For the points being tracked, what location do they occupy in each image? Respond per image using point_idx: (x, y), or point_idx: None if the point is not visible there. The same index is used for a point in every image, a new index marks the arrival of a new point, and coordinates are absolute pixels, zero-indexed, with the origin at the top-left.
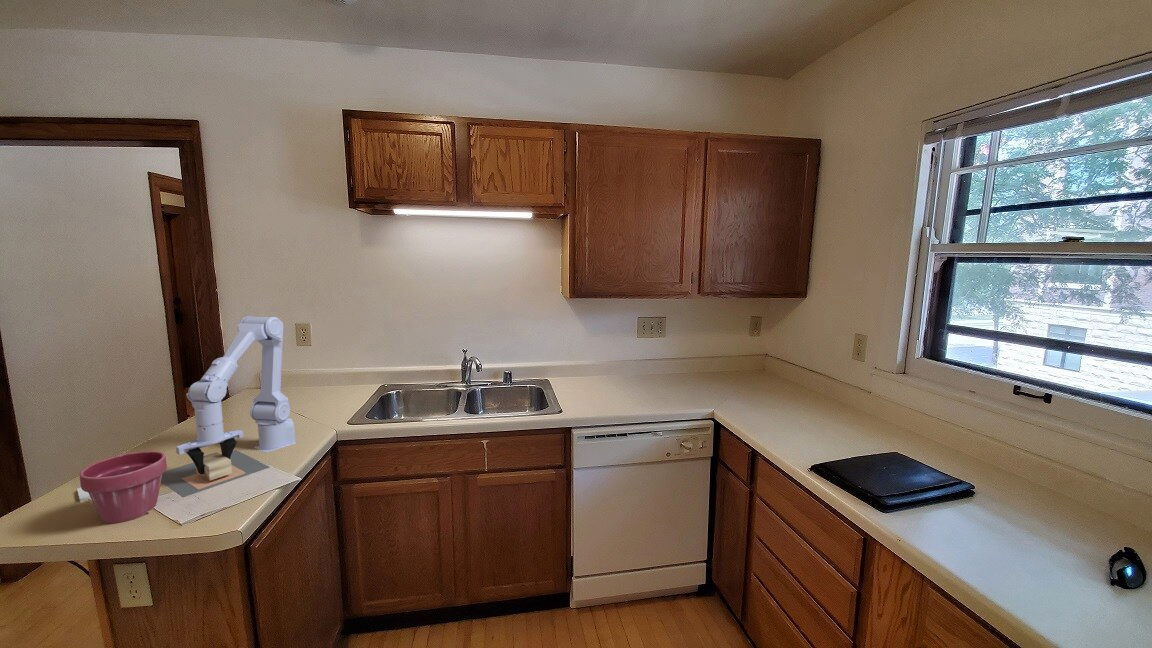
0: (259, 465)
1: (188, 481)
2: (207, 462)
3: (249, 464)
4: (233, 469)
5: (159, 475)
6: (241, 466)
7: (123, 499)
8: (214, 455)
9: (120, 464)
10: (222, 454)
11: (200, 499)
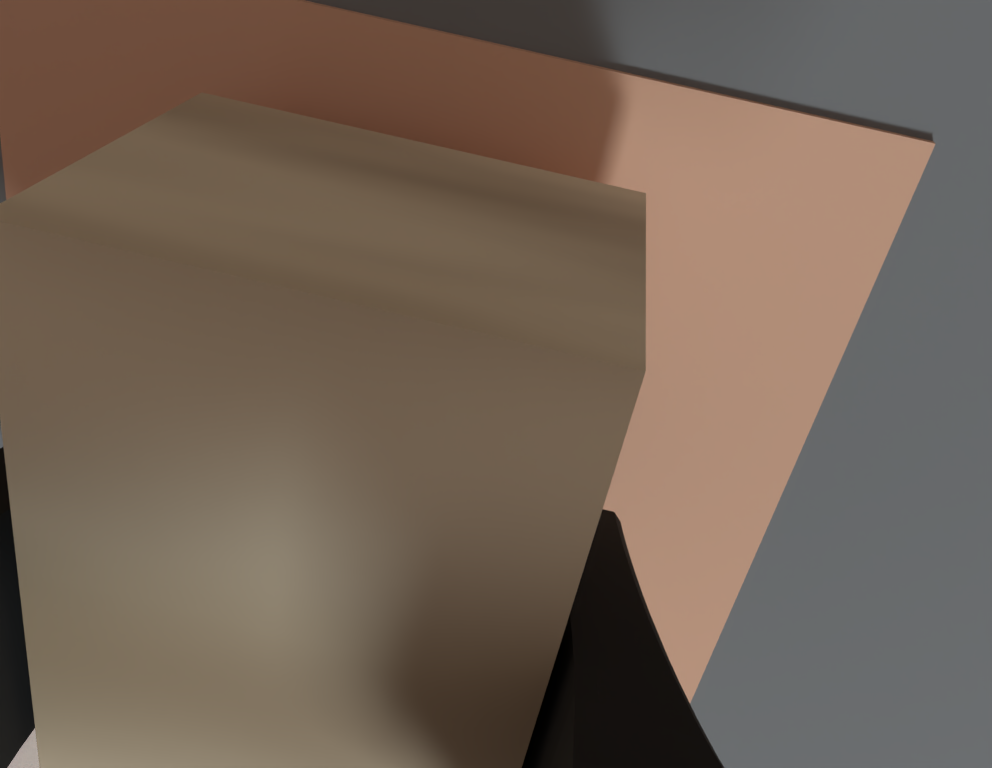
0: (963, 739)
1: None
2: (113, 742)
3: (974, 572)
4: (695, 513)
5: None
6: (856, 519)
7: None
8: (441, 530)
9: None
10: (567, 691)
11: (26, 747)
